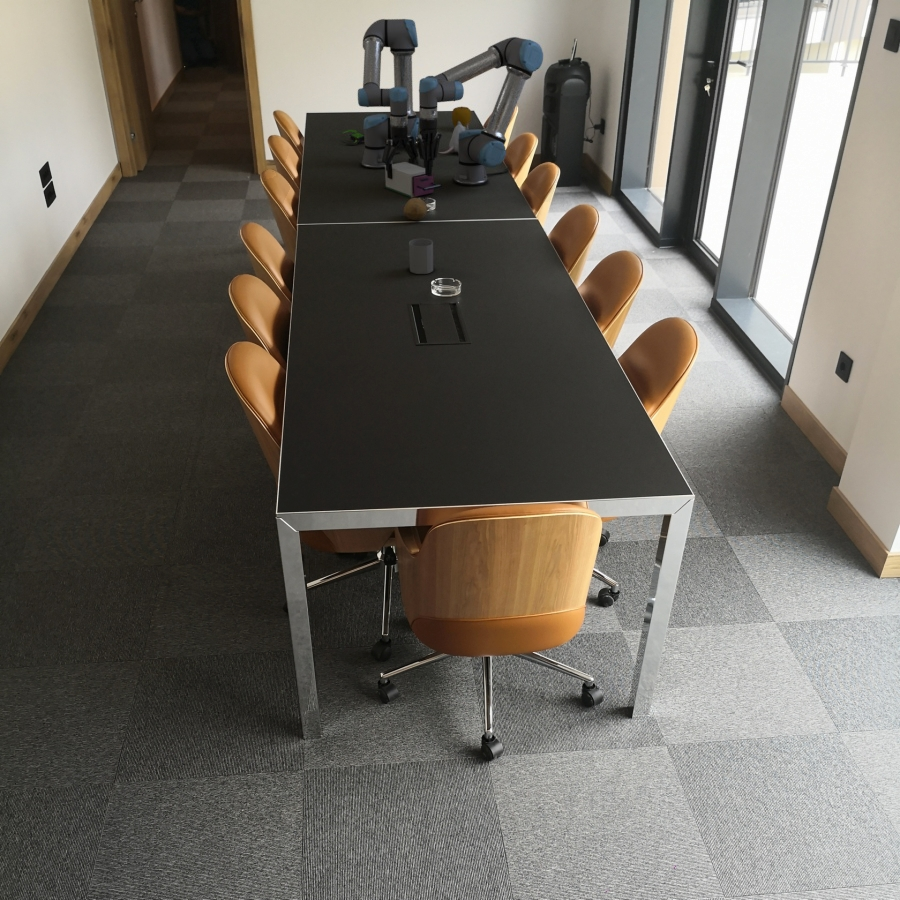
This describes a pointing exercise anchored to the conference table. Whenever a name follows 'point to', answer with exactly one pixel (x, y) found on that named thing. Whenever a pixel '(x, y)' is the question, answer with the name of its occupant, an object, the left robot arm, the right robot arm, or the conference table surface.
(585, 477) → the conference table surface
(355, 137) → the green irregular shape
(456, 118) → the apple
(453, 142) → the toy
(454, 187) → the conference table surface
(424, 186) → the drawer
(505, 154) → the right robot arm
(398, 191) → the cabinet
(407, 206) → the potato
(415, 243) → the cup
